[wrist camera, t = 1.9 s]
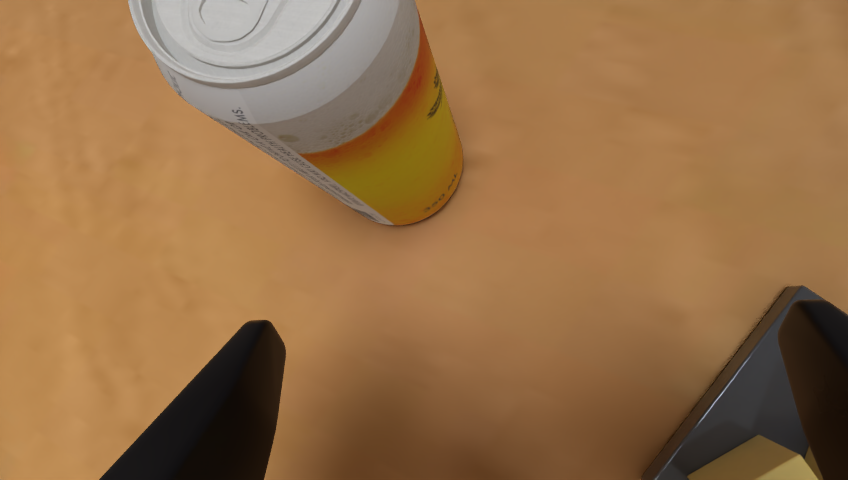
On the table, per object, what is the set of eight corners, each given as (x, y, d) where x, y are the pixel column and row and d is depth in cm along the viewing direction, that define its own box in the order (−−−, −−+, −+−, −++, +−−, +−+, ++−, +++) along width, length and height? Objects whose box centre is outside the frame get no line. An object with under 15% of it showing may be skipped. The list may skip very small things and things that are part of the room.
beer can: (483, 128, 25) (435, -143, 10) (435, 246, 24) (313, 143, 10) (370, 91, 26) (181, -197, 11) (323, 202, 26) (64, 52, 11)
